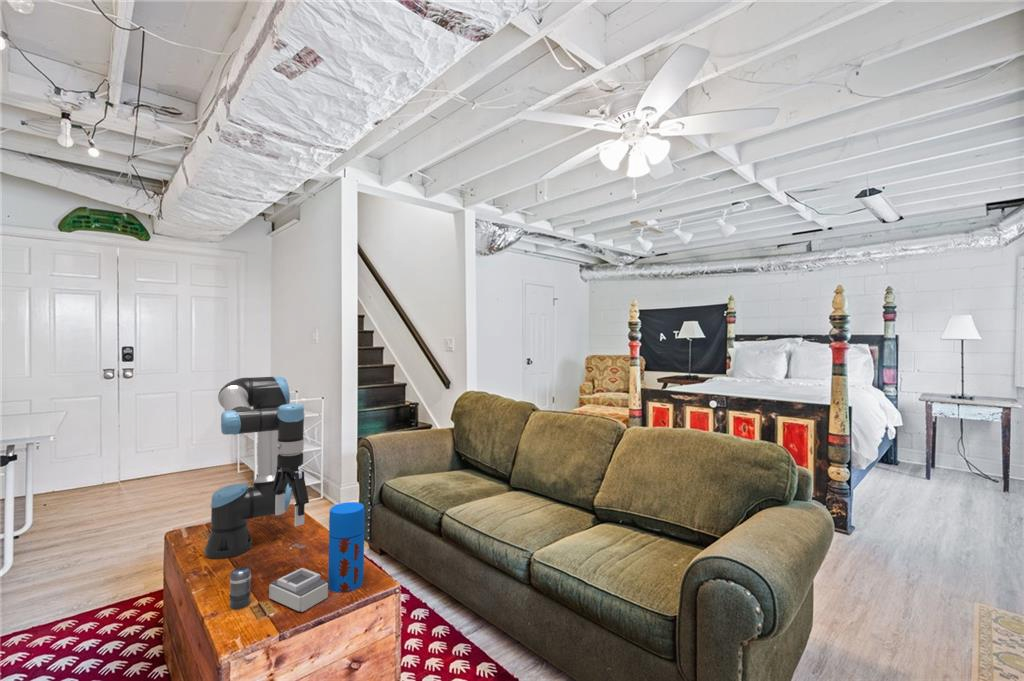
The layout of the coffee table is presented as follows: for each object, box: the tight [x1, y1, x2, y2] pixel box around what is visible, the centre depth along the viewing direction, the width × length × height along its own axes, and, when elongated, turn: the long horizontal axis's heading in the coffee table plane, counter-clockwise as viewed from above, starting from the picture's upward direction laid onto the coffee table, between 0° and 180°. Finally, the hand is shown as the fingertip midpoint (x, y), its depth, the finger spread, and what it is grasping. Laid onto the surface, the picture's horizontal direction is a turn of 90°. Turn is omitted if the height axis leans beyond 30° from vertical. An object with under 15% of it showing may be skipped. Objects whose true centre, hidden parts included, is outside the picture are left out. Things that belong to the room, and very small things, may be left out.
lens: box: [229, 566, 252, 611], centre depth 138 cm, size 6×6×10 cm
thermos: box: [327, 501, 366, 594], centre depth 151 cm, size 11×11×25 cm
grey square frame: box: [268, 567, 329, 613], centre depth 142 cm, size 15×10×7 cm, turn 61°
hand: (289, 519), depth 148 cm, fingers open, 13 cm apart
